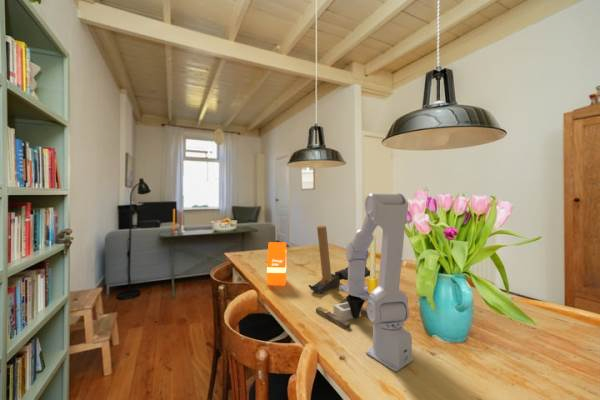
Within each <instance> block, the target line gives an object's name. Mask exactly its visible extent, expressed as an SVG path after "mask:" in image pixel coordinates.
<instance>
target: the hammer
mask: <svg viewBox="0 0 600 400" xmlns="http://www.w3.org/2000/svg"><path fill="white" fill-rule="evenodd" d="M316 231H317V240H318V248H319V258H320V266H321V267H320V268H321V277H322V279H321V280H320V281H318V282H317V283H315V284H313V285H310V284H308V285H307V286H308V287H309V289H310V290H311V291H313V292H316V293H319V294H325V293H327V292H329V291H330V290H333V289H335V288H336V287H338V286H339V285H341V280H343V279H344V278H343V275H342V274H341V273H340V272H337V271H335V272H336V273H335V272H334V273H331V271H332V270H331V261H330V252H329V242H328V241H329V239H328V231H327V226H326V225H318V226H316Z"/></svg>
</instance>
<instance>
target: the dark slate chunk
mask: <svg viewBox="0 0 600 400" xmlns="http://www.w3.org/2000/svg"><path fill="white" fill-rule="evenodd" d="M370 271H371V270H369V269H368V267H367V265H366V266H365V278H366V276H367V277H368V276H370V275H369V274H370ZM336 272H340V273H341V274H342V275H343V279H345V280H348V266H347V267H345V268H343V269H339V270H337V271H334V274H335V273H336Z"/></svg>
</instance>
